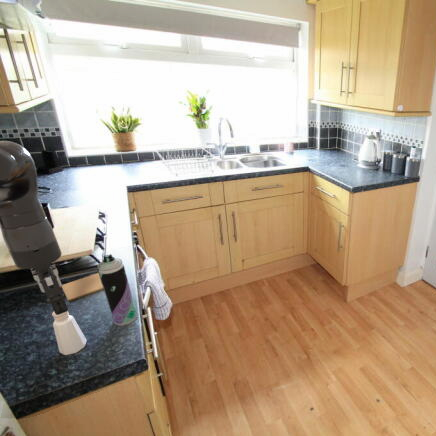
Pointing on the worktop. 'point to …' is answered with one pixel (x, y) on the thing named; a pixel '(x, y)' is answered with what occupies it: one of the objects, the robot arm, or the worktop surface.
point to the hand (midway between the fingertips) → (58, 303)
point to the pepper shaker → (68, 334)
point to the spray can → (117, 290)
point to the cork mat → (82, 287)
